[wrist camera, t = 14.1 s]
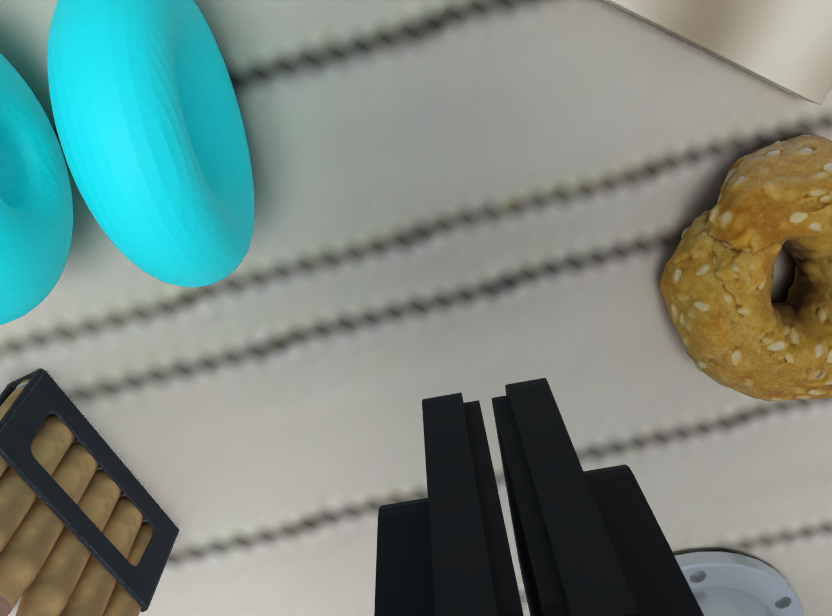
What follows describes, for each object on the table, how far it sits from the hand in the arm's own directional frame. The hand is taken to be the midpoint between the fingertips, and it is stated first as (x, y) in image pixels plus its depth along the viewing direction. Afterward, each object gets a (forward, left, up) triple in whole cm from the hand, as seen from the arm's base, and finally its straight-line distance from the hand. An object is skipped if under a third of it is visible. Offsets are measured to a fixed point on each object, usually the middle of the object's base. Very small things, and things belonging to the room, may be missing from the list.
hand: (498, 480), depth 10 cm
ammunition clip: (+8, +20, -21) cm, 29 cm away
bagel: (-16, -1, -21) cm, 26 cm away
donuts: (+11, +4, -21) cm, 24 cm away
